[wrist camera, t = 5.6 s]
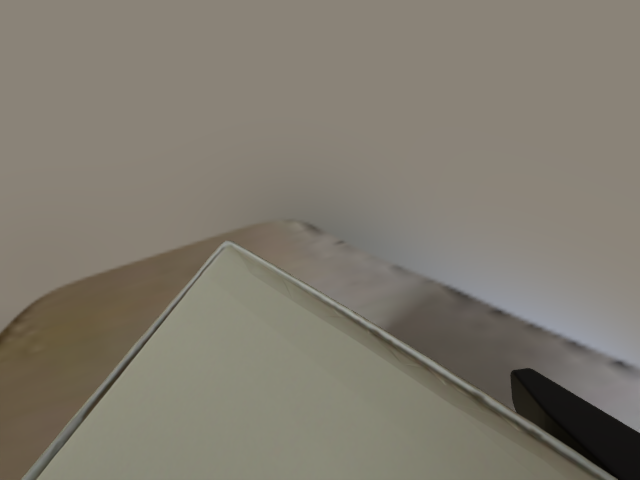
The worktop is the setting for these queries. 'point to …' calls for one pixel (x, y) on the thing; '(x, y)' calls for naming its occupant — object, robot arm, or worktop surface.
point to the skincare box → (290, 398)
